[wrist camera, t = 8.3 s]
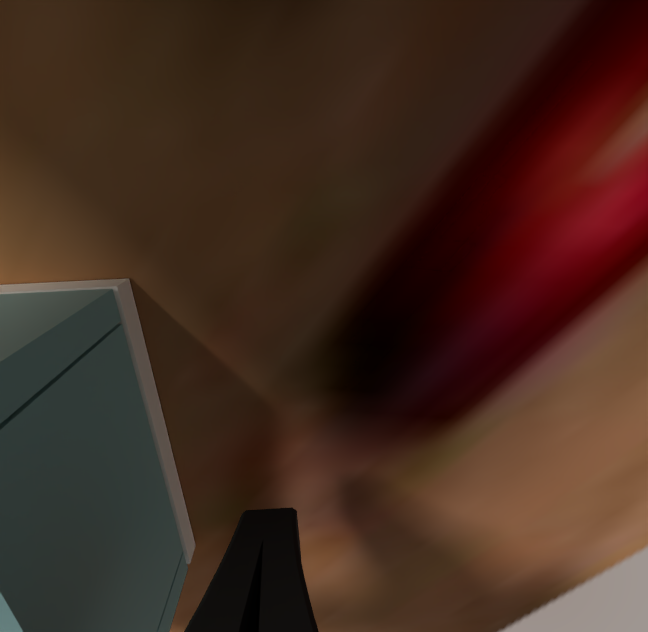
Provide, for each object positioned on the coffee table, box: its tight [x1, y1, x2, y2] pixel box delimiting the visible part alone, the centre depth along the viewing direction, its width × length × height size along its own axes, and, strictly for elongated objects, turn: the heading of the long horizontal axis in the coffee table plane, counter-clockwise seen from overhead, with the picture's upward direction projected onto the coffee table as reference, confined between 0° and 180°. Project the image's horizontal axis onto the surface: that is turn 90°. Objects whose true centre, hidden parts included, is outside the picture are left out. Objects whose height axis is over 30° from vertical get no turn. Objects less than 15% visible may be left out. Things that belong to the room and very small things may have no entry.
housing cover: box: [0, 289, 188, 632], centre depth 10 cm, size 12×6×6 cm, turn 2°
